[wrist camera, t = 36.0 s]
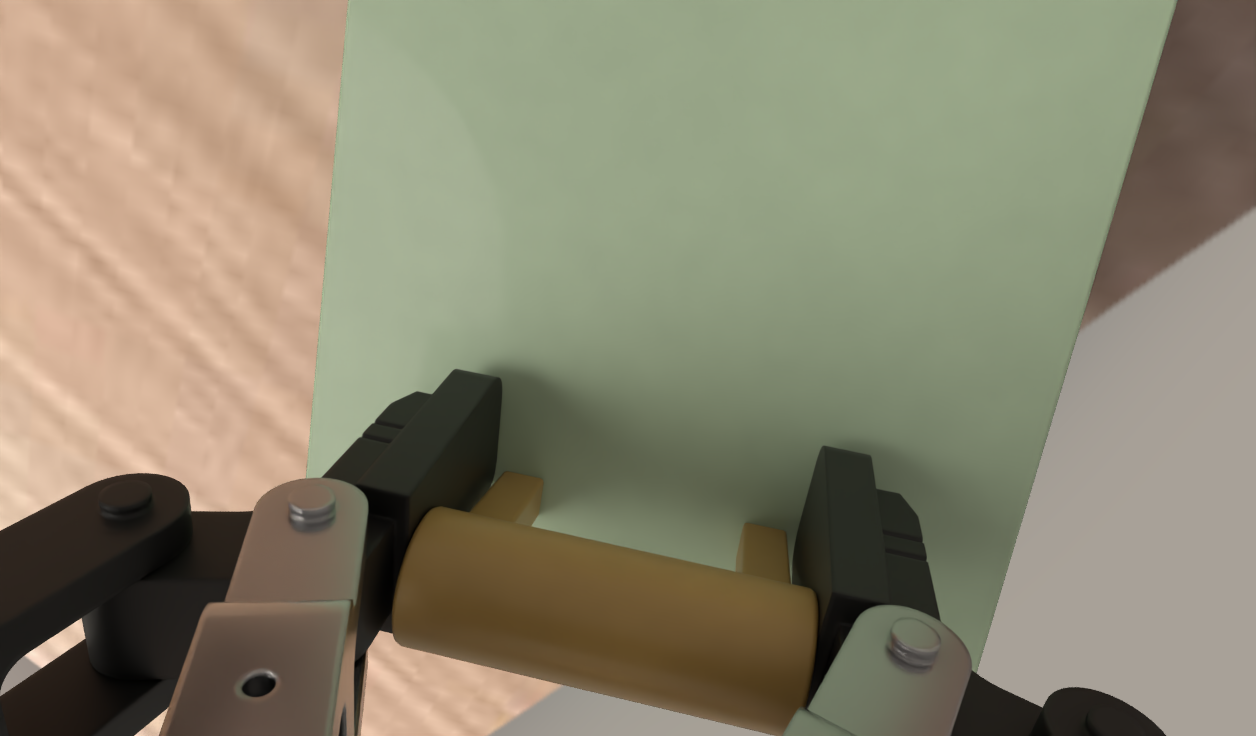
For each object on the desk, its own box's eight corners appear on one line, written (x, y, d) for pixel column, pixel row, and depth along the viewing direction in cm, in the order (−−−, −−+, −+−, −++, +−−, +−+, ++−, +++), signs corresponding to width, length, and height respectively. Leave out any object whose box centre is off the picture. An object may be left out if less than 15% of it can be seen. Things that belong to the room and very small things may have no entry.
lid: (953, 691, 15) (1050, 937, 10) (318, 544, 16) (129, 702, 11) (1339, -623, 11) (1833, -1298, 6) (434, -693, 12) (210, -1303, 7)
